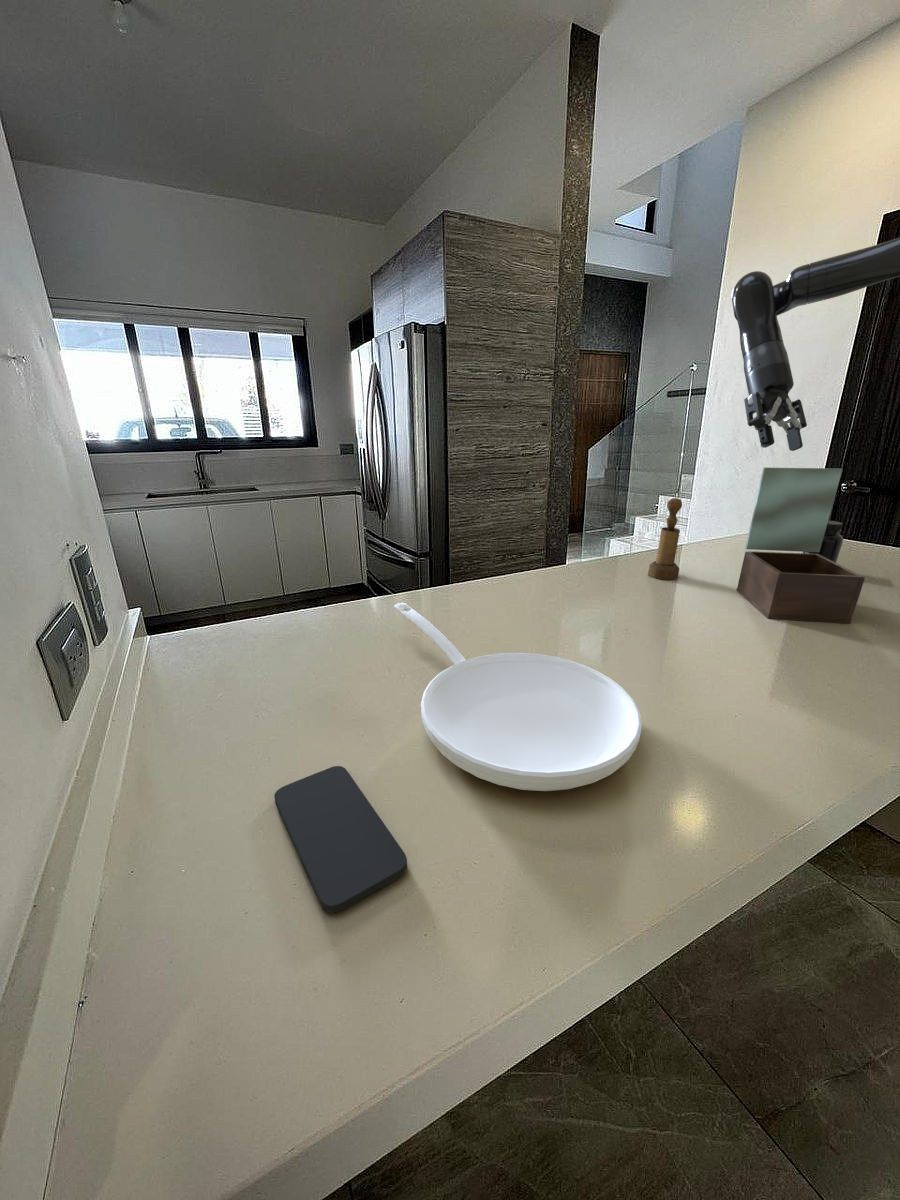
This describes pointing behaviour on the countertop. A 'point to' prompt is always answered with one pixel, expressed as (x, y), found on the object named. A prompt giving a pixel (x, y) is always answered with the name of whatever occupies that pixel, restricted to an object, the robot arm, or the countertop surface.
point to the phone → (339, 838)
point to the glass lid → (792, 508)
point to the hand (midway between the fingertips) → (782, 447)
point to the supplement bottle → (831, 541)
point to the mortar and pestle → (667, 546)
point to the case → (799, 586)
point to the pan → (527, 717)
